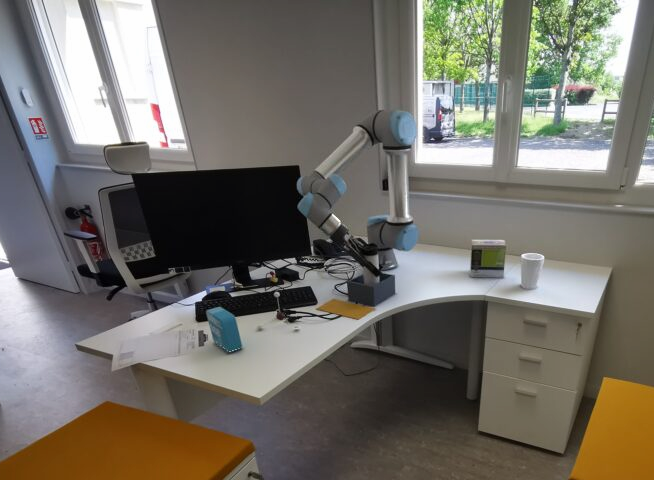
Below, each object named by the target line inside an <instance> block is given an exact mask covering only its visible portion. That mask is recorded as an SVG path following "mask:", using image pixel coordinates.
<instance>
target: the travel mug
mask: <svg viewBox="0 0 654 480" xmlns="http://www.w3.org/2000/svg"><path fill="white" fill-rule="evenodd" d="M362 245H363V246H362V255H363V256H364V257H365V258H366V259H367V260H368V262H369V261H370V262H371V263H372V264H373V265H374V266H375V267H377V268H378V269H379V262H378V246H377V245H376V244H375V243H370V244H368V243H366V244H362ZM362 274H363V277H364V284H365V285H370V286H374V285H376V284H378V283H379V276H378V277H376V276H375V275H373V274H372V273H371V272H370V271H369V270H368V269H367V268H366V267H365V266H364V267H363V268H362Z"/></svg>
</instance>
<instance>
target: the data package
mask: <svg viewBox="0 0 654 480" xmlns="http://www.w3.org/2000/svg"><path fill="white" fill-rule="evenodd" d="M205 314H206V318H207V322H208V325H209V329H210V334H211V337H212V341H213V342H214V344H216V346H218V347H220V348H221V349H222V350H223V351H225V352H226V353H227V354H231V353H234V352H237V351H241V350H242V349H243V343H242V339H241V334H240V331H239V326H238V321H237V317H236V316H235V315H234V314H233V313H231V312H230V311H228V310H227V309H224V308H223V307H221V306H217V307H213V308H210V309H206V310H205ZM216 342H217V343H216ZM220 345H221V346H220ZM223 347H224V348H225V349H224V348H223ZM241 347H242V348H241ZM238 348H240V349H238ZM235 349H237V350H235ZM227 350H228V351H227ZM232 350H234V351H232ZM229 351H231V352H229Z"/></svg>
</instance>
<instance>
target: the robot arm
mask: <svg viewBox="0 0 654 480" xmlns="http://www.w3.org/2000/svg"><path fill="white" fill-rule="evenodd" d="M417 136H418V126H417V122H416V120H415V118H414V117H413V115H412V114H411V113H410V112H408V111H406V110H400V109H395V110H394V109H391V110H390V109H389V110H387V109H378V110H375V111H372V112H371V113H369V114H368V115H367V116H365V117H364V118H363V119H362V120H361V121H359V122H358V123H357V124H356V125H355V126H354V127H353V129H352V133H351V134H350V135H349V136H348V137H347V138H346V139H345V140H344V141H342V143H341V144H340V145H339V146H338V147H337V148H336V149H335V150H333V152H332V153H331V154H329V155H328V157H327V158H326V159H324V160H323V161H322V162H321V163H320V164H319V165H318V166H317V167H316V168H315V169H313V171H312V172H311V173H310V174H309V175H303V176H300V177H299V178H298V180H297V182H296V190H297V191H298V193H299V194H300V195H301V196H303V198H301V200H300V201H299V202H298V204H297V209H298V211H299V212H300V213H301V214H302V215H303V216H304V217H305V218H306V219H307V220H309V221H310V222H311V223H312V224H313V225H314V226H315V227H316V228H317V229H319V230H320V232H321V234H324V235H325V236H326V237H329V239H330V241H332V242H333V243H334V244H335V245H338V244H339V243H340V244H341V245H342V246H343V247H342V251H344V252H346V253H347V254H348V255H349V256H350V257H351V258H352V259H351V258H347V257H341V256H334V255H311V256H309V257H310V258H329V259H330V258H331V259H340V260H345V261H350V262H353V263H357V264H359V266H360V267H361V268H362V269H363V267H364V266H365V267H366V268H367V269H368V270H369V271H370V272H371V273H372V274H373V275H375V276H376V277H378V276H379V275H380V274H381V273H383V272H382V271H389V270H393V269H396V268H397V267H398V259H397V256H396V254H395V252H394V250H397V251H399V252H409V251H411V250H413V249H414V248H415V246H416V245H417V244H418V241H419V238H420V232H419V229H418V227H417V226H416V225H415V224H414V217H413V216H411V213H410V186H409V185H410V183H409V181H410V180H409V152H410V151H411V150H412V145H413V143H414V142H415V141H416V138H417ZM377 144H382V151H383V152H384V153H385V154H386V164H387V165H386V167H387V182H388V183H387V184H388V185H387V187H388V188H387V189H388V204H389V205H388V207H389V214H382V215H381V214H380V215H374V216H370V217H368V218H367V220H366V230H367V231H366V233H367V244H370V243H375V244H376V245H377V246H378V262H379V269H378V268H377V267H375V266H374V265H373V264H372V263H371V262H370V261H369V262H368V260H367V259H366V258H365V257H364V256H363V255H362V246H363V245H364V244H362V242H360V241H359V240H358V239H357V238H356V237H355V236H354V235H353V234H350V235H349V234H348V233H349V231H350V230H349V228H348V227H347V226H346V225H345V224H344V223H341V220H340V219H339V218H338V217H336V215H335V214H333V212H331V211H330V210H331V209H332V208H333V207H334V205H335V204H336V203H337V202H338V201H339V200H340V199H341V197H343V195H344V194H345V192H346V191H347V184H346V182H345V181H344V180H343V178H341V176H340V175H341V174H342V173H343V172H344V171H345V170H346V169H347V168H348V167H349V166H350V165H351V164H352V163H353V162H354V161H355V160H356V159H357V158H359V157H360V155H362V153H363V152H364V151H365V150H370V149H371V148H372V147H373V146H374V145H377Z"/></svg>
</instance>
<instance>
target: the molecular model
mask: <svg viewBox="0 0 654 480" xmlns="http://www.w3.org/2000/svg"><path fill="white" fill-rule="evenodd" d="M280 295H281V294H280V292H278V291H275V292H274V293H273V296H274V297H275V298H276V299H277V301H279V298H280ZM277 304H278V305H277V306H278V307H280V304H279V302H277ZM275 317H276V318H274V319H272V320H270V321H268V322H266V323H265V324H263V325H262V324H257V326H256V329H257V330H258V331H261V330H262V329H263V327H264V326H266V325H268V324H269V323H271V322H273V321H276V320H277V321H283V320H284V321H286V322H287V323H289V324H290V325H291V326H293V328H299V327H300V325H293V324H292V323H291V322H289V321H288V320H286V319H285V318H286V316H285V314H284V313H283V312H282V311H281V309H280V308H278V312H277V313H276V315H275ZM261 327H262V328H261ZM300 329H301V328H299V329H294V331H296V332H299V331H300Z"/></svg>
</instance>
